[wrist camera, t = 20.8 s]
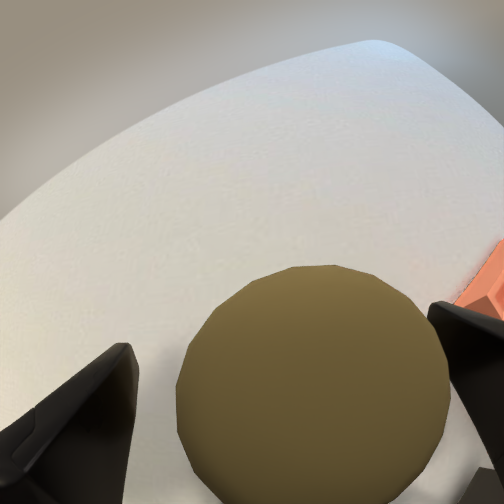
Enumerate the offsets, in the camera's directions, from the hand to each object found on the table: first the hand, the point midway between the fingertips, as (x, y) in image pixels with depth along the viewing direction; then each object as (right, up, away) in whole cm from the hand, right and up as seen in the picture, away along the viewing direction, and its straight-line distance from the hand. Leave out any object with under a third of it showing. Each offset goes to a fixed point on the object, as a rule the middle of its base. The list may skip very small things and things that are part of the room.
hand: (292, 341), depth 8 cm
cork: (0, -4, +6) cm, 7 cm away
